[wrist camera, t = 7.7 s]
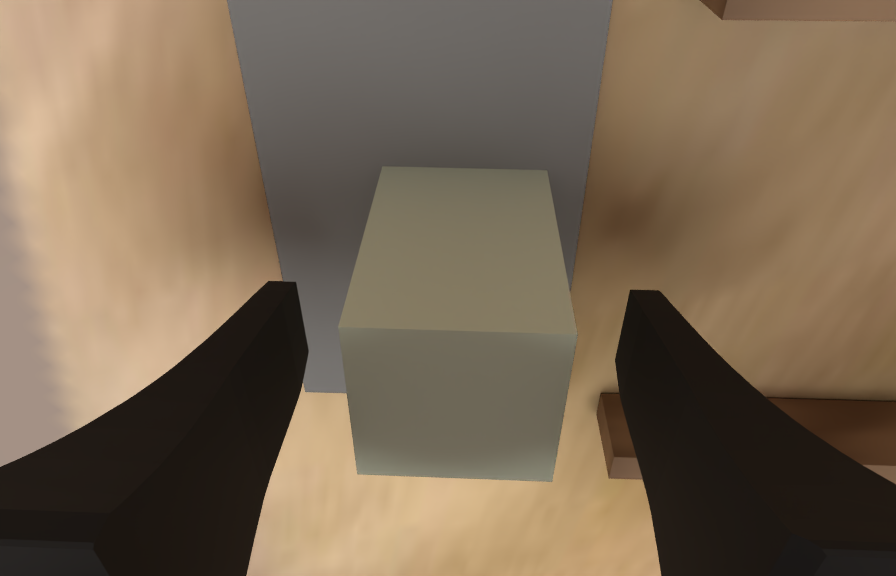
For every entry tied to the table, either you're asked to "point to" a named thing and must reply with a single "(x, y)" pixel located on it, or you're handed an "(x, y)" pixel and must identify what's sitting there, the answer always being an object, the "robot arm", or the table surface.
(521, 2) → the mat
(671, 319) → the robot arm
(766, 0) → the open side box
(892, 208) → the table surface
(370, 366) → the sage block
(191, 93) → the table surface
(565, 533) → the table surface
